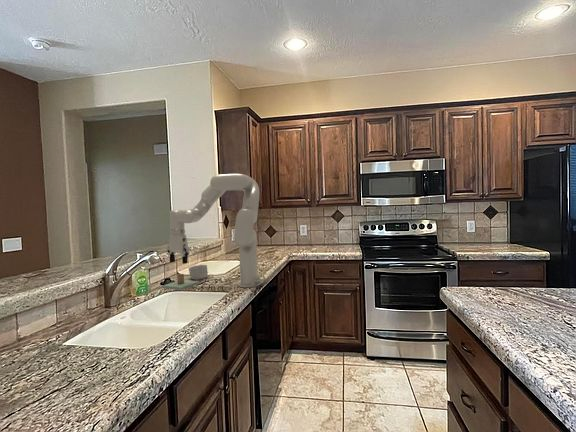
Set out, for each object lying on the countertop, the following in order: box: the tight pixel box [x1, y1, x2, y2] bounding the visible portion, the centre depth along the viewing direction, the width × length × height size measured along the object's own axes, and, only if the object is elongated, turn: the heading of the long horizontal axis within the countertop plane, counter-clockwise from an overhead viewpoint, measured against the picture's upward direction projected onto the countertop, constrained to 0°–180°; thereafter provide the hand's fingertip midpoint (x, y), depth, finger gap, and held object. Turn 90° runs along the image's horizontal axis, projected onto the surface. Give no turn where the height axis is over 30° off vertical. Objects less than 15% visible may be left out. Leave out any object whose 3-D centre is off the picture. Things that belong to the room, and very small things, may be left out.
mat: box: [157, 281, 204, 291], centre depth 186 cm, size 17×17×1 cm
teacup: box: [188, 264, 209, 281], centre depth 201 cm, size 14×11×8 cm
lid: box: [162, 273, 199, 289], centre depth 185 cm, size 13×13×6 cm
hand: (178, 262), depth 185 cm, fingers open, 9 cm apart
